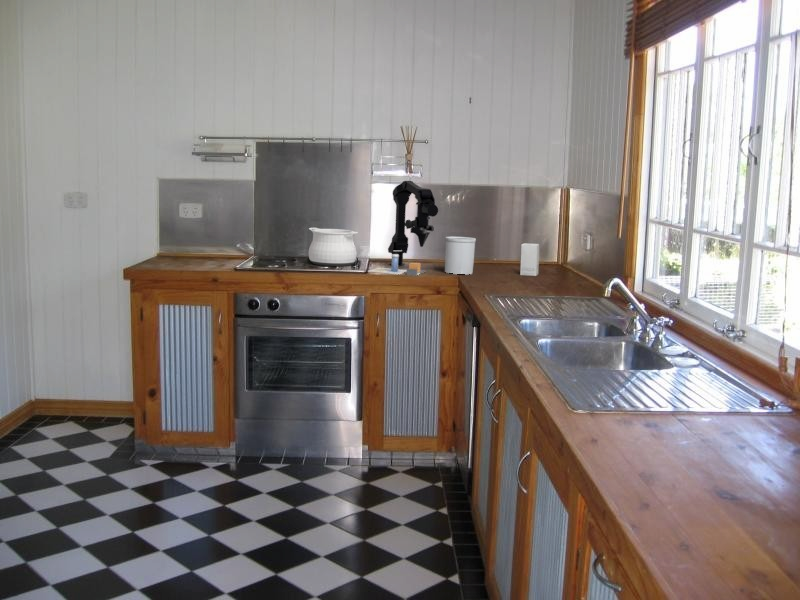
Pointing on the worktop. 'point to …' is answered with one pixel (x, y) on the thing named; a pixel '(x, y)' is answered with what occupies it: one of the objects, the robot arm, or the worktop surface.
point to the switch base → (414, 272)
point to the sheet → (387, 271)
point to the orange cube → (415, 266)
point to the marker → (394, 263)
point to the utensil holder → (459, 255)
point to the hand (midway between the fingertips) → (421, 246)
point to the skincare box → (529, 259)
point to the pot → (332, 247)
